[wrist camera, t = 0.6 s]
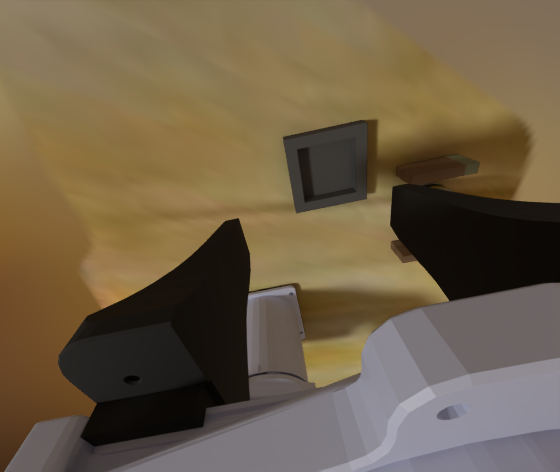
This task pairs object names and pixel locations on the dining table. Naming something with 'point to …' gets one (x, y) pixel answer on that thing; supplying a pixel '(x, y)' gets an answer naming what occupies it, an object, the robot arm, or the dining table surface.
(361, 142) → the dark gray rectangular tray
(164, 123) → the dining table surface
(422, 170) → the channel
